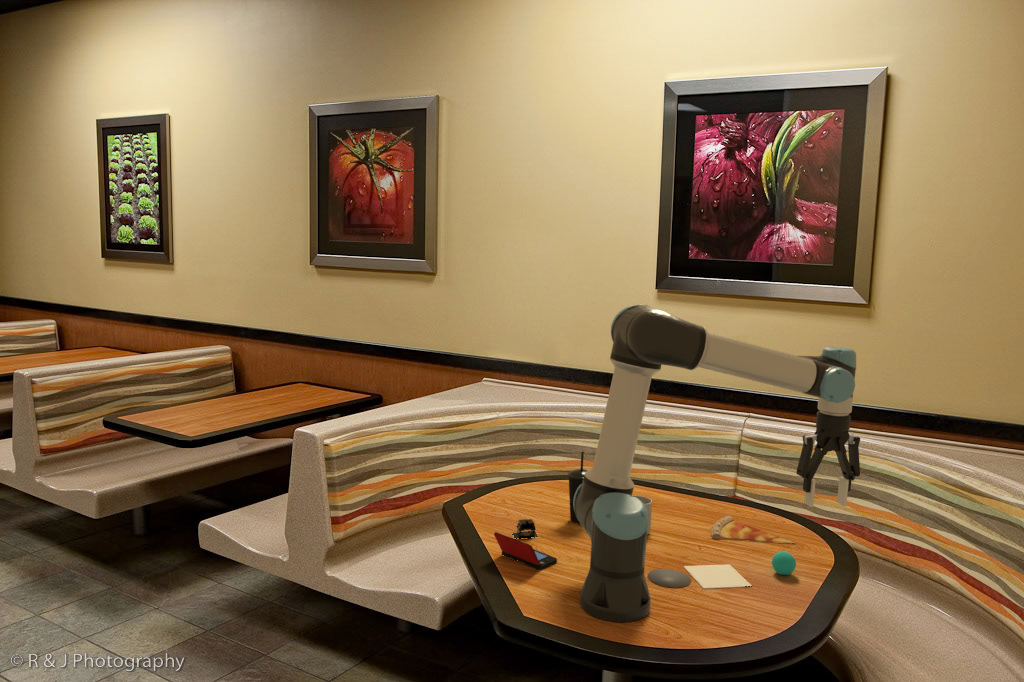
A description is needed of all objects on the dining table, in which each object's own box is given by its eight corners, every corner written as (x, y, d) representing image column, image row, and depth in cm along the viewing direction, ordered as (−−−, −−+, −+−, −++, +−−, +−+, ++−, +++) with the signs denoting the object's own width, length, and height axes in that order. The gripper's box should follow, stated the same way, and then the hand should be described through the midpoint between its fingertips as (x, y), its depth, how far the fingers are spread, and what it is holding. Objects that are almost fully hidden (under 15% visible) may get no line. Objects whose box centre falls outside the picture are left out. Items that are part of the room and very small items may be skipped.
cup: (645, 526, 216) (647, 495, 215) (657, 540, 206) (659, 507, 205) (620, 526, 215) (622, 495, 214) (630, 540, 205) (632, 508, 204)
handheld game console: (559, 563, 190) (560, 534, 189) (530, 576, 182) (531, 546, 181) (521, 548, 198) (522, 520, 197) (491, 560, 191) (492, 531, 190)
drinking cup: (570, 527, 213) (574, 456, 211) (561, 517, 221) (565, 448, 218) (596, 525, 216) (600, 455, 213) (586, 515, 223) (590, 447, 220)
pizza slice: (762, 560, 197) (763, 552, 197) (692, 532, 214) (692, 525, 214) (796, 546, 207) (796, 539, 207) (725, 520, 224) (726, 514, 224)
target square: (703, 588, 178) (703, 588, 178) (683, 566, 190) (683, 566, 190) (752, 586, 180) (752, 585, 180) (729, 565, 192) (729, 564, 192)
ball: (778, 579, 185) (779, 557, 184) (766, 569, 190) (768, 548, 190) (799, 578, 186) (801, 556, 185) (787, 568, 191) (789, 547, 191)
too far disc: (656, 588, 177) (656, 588, 177) (641, 570, 187) (641, 569, 187) (697, 587, 179) (697, 586, 179) (681, 568, 189) (681, 567, 189)
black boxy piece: (505, 544, 201) (506, 527, 201) (499, 533, 208) (500, 517, 208) (551, 541, 204) (552, 525, 204) (544, 531, 211) (545, 515, 211)
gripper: (864, 408, 190) (855, 498, 193) (785, 408, 186) (777, 500, 189) (883, 415, 183) (873, 509, 186) (802, 416, 179) (793, 511, 182)
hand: (825, 504), depth 187 cm, fingers open, 8 cm apart
